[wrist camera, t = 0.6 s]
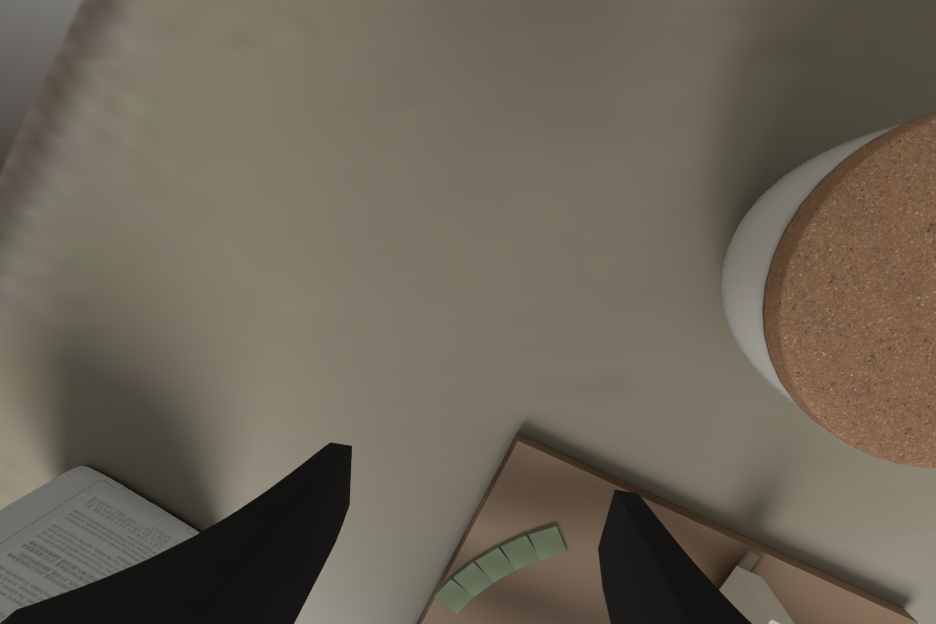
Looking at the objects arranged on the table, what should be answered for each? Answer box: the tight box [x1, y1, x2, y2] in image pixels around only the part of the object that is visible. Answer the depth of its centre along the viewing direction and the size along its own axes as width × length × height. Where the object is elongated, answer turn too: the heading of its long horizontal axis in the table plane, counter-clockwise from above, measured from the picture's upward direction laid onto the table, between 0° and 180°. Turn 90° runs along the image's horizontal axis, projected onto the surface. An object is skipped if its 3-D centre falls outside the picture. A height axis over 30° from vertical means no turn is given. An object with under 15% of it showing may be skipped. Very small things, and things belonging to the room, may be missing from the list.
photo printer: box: [0, 466, 200, 623], centre depth 20 cm, size 10×4×12 cm, turn 58°
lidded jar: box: [721, 112, 936, 468], centre depth 16 cm, size 11×11×9 cm
